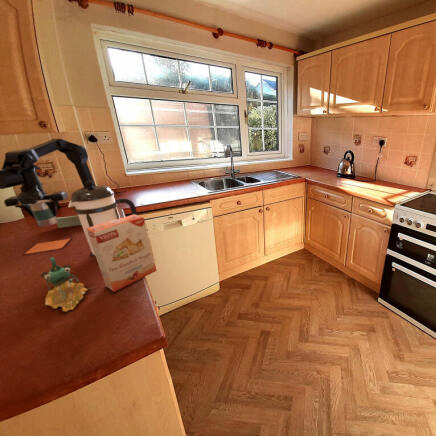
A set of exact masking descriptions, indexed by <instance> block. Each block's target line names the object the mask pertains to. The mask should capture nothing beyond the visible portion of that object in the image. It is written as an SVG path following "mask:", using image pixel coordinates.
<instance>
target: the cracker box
mask: <svg viewBox="0 0 436 436" xmlns="http://www.w3.org/2000/svg"><path fill="white" fill-rule="evenodd" d="M86 230H87V232H88V235H89V238H90V241H91V244H92V247H93V250H94V253H95V255H94V256H95V258H96V261H97V265H98V267H99V270H100V274H101V275H102V278H103V282H104V285H105V287H107V288H108V289H109V290H110V291H112V292H113V293H115V292H117V291H119V290H121V289H123V288H125V287H127V286H129V285H131V284H133V283H136V282H137V281H139V280H141V279H144V278H145V277H147V276H150V275H152V274H153V273H155V272H157V267H156V263H155V259H154V255H153V251H152V246H151V242H150V238H149V233H148V230H147V225H146V221H145V218H144V216H141V215H135V214H134V215H132V214H131V215H127V216H124V217H120V219H117V220H113V221H110V222H106V223H103V224H99V225H96V226H92V227H89V228H86Z"/></svg>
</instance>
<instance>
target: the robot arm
mask: <svg viewBox="0 0 436 436" xmlns="http://www.w3.org/2000/svg"><path fill="white" fill-rule="evenodd" d="M56 151H58V152H60V153H62V154H63V155H65V157H66V158H67V160H68V161H70V162H71V163H72V164H73V165H74V167H75V170H76V172H77V174H78V177H79V178H80V182H81V183H82V186H83V188H84V187H88V186H86V184H85V182H86V181H92V182H93V185H92V186H97V184H96V183H95V180H94V177H93V176H92V172H91V170H90V168H89V165H88V160H89V155H88V150H87V149H86V147H85V146H83V145H81V144H80V145H79V144H77V143H74V142H70V141H68V140H66V139H64V138H52V139H50V140H48V141H45V142H42V143H40V144H37V145H34V146H32V147H29V148H23V149H16V150H10V151H7V152H5V155H4V161H3V164H2V167H1V169H0V190H4V189H5V190H6V189H8V188H12V187H17V186H20V187H19V188H20V193H18V195H13V196H10V197H7V198H5V199H4V200H3V203H4V206H5V207H15V208H19V209H21V210H23V211H25V212H26V213H27V214H28V215H30V216H31V218H33V219H34V220H36V219H35V217H34V215H33V213H32V211H31V208H30V206H29V204H35V203H37V202H38V201H40V200H49V201H50V202H49V203H48V204H49V205H50V206H51V209H52V212H53V214H54V216H56V217H57V215H58V208H59V204H60V202H61V201H64V200H66V199H68V198H69V195H68V193H67V192H66V191H65V190H63V191H54V192H52V193H51V194H48V193H47V191H45V190H44V187H43V185H44V183H43V182H41V181H40V178H39V176H38V173H37V171H38V170H41V167H40V166H38V165H35V164H36V163H37V162H38V161H39V159H41V158H42V157H44V156H47V155H49V154H51V153H54V152H56Z"/></svg>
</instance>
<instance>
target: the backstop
mask: <svg viewBox="0 0 436 436" xmlns="http://www.w3.org/2000/svg"><path fill="white" fill-rule="evenodd" d="M57 220H58V222H57V223H56V225H57V229H62V228H69V227H75V226H76V227H77V226H82V224H81V222H80V219H79V216H78V214H76V215H70V216H62V217H57Z"/></svg>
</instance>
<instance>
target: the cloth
mask: <svg viewBox="0 0 436 436" xmlns="http://www.w3.org/2000/svg"><path fill="white" fill-rule="evenodd" d="M70 240H71V238H65V239H58V240H52V241H45V242H39V243H35V245H33V246H32V247H31V248H30V249H28V250H27V251H26V252H25V253H24V255H27V254H34V253H35V254H36V253H41V252H46V251H47V252H48V251H52V250H58V249H62V248H64V246H65V245H66V244H67V243H68V242H70Z"/></svg>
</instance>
